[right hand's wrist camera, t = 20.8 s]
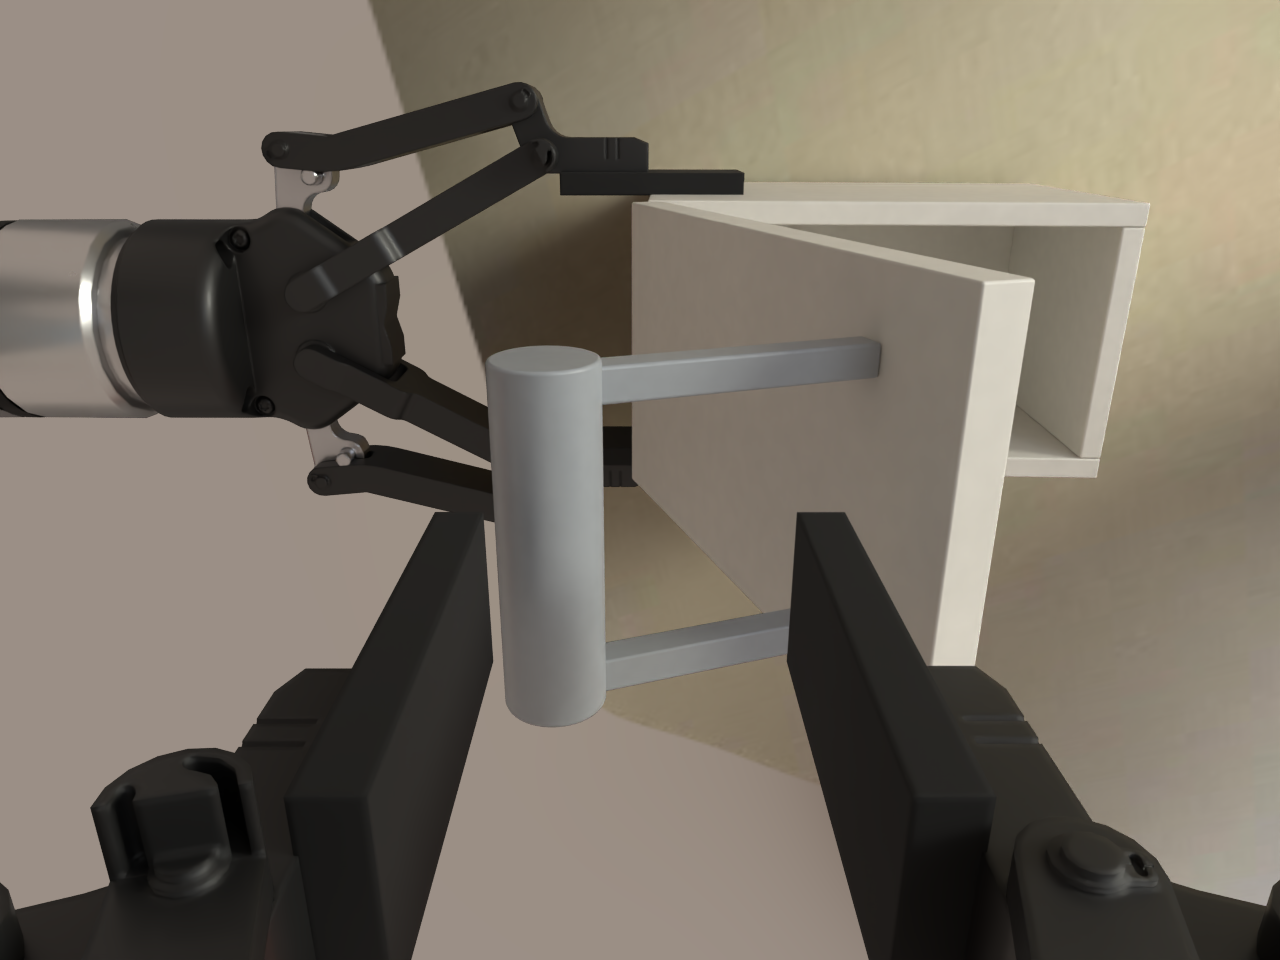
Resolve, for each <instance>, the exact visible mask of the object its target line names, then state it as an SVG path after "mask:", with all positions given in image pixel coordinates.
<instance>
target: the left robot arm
mask: <svg viewBox="0 0 1280 960" xmlns="http://www.w3.org/2000/svg"><path fill="white" fill-rule="evenodd" d="M511 125H512V126H513V129H514V131H515V134H516V137H517V139H518V142H519V144H520V147H519V148H517V149H516V150H514V151H512V152H510V153H509V154H507V155H505V156H504V157H502V158H500V159H499V160H497V161H495V162H494V163H492V164H490V165H488V166H487V167H485V168H483V169H482V170H480V171H478V172H477V173H475V174H473V175H471V176H470V177H468V178H466V179H465V180H463V181H461V182H460V183H458V184H456V185H455V186H453V187H451V188H449V189H448V190H446V191H444V192H443V193H441V194H439V195H438V196H436V197H434V198H432V199H431V200H429V201H427V202H426V203H424V204H422V205H421V206H419V207H417V208H416V209H414V210H412V211H410V212H409V213H407V214H405V215H404V216H402V217H400V218H399V219H397V220H395V221H393V222H392V223H390V224H388V225H387V226H385V227H383V228H381V229H379V230H377V231H376V232H374V233H372V234H370V235H369V236H367V237H365V238H364V239H362V240H360V241H358V240H356V239H354V238H353V237H352V236H350V235H349V234H347V233H346V232H344V231H343V230H342V229H340V228H339V227H337V226H336V225H334V224H333V223H331V222H330V221H328V220H327V219H325V218H324V217H323V216H321V215H320V214H318V213H317V212H315V211H314V210H312V209H311V206H312V201H313V199H314V197H315V196H316V195H317V194H319V193H321V192H326V191H330V190H332V189H334V188H335V187H336V186H337V184H338V182H339V171H341V170H348V169H354V168H360V167H365V166H370V165H373V164H377V163H380V162H384V161H387V160H391V159H394V158H398V157H402V156H405V155H409V154H412V153H416V152H419V151H423V150H426V149H430V148H433V147H437V146H440V145H444V144H447V143H451V142H454V141H458V140H462V139H465V138H469V137H472V136H476V135H479V134H483V133H486V132H490V131H493V130H497V129H500V128H504V127H507V126H511ZM261 149H262V153H263V156H264V158H265V159H266V161H267V162H268V163H269V164H271V165H272V166H274V168H275V190H276V209H274V210H272V211H270V212H269V213H267V214H266V215H264V216H262V217H261V218H258V219H248V220H194V219H193V220H192V219H190V220H187V219H186V220H185V219H178V220H177V219H174V220H173V219H172V220H170V219H158V220H150V221H147V222H145V223H143V224H142V225H140V224H137V223H135V222H132V221H130V220H127V219H94V220H93V219H90V220H89V219H87V220H86V219H85V220H17V221H0V417H102V418H147V417H150V416H153V415H155V414H157V413H160V414H162V415H164V416H167V417H183V418H184V417H185V418H188V417H189V418H197V417H198V418H256V417H277V418H281V419H284V420H287V421H290V422H292V423H294V424H296V425H298V426H300V427H303V428H306V430H307V434H308V438H309V443H310V447H311V451H312V455H313V460H314V464H315V467H314V469H313V470H312V471H311V472H310V473H309V475H308V477H307V483H308V485H309V487H310V489H311V490H312V491H313V492H314V493H316V494H318V495H324V496H328V495H339V494H351V493H362V492H368V493H373V494H377V495H381V496H385V497H389V498H394V499H398V500H402V501H406V502H411V503H415V504H419V505H423V506H428V507H432V508H436V509H440V510H445V511H449V512H483V517H484V520H487V521H491V522H495V517H494V501H493V484H492V471H491V470H487V469H483V468H479V467H474V466H470V465H466V464H462V463H458V462H454V461H449V460H446V459H441V458H437V457H433V456H429V455H425V454H421V453H417V452H412V451H408V450H404V449H400V448H395V447H390V446H381V445H369V444H368V442H367V440H366V439H365V438H364V437H363V436H361V435H359V434H355V433H349V432H347V431H345V430H344V429H342V428H341V426H340V425H339V423H338V421H337V419H339V418H340V417H341V416H343V415H344V414H345V413H347V412H348V411H349V410H351V409H352V408H353V407H355V406H356V405H357V404H359V403H360V404H362V405H364V406H366V407H368V408H370V409H372V410H374V411H376V412H378V413H380V414H382V415H384V416H386V417H389V418H391V419H396V420H397V419H398V420H405V421H407V422H409V423H411V424H413V425H416V426H418V427H420V428H422V429H424V430H426V431H428V432H430V433H432V434H434V435H436V436H438V437H440V438H442V439H444V440H446V441H448V442H450V443H452V444H454V445H456V446H458V447H460V448H462V449H464V450H466V451H468V452H470V453H472V454H474V455H477V456H478V457H480V458H483V459H485V460H487V461H489V462H491V451H490V435H489V418H488V407H487V406H485V405H483V404H481V403H479V402H477V401H475V400H473V399H471V398H469V397H467V396H465V395H463V394H461V393H459V392H457V391H455V390H453V389H451V388H449V387H447V386H445V385H443V384H441V383H439V382H437V381H435V380H433V379H431V378H430V377H428V375H427V374H426V373H425V372H424V371H423V370H421V369H420V368H418V367H416V366H414V365H412V364H410V363H408V362H406V361H404V360H402V359H401V358H402V357H403V356H404V355H405V343H404V334H403V332H402V329H401V326H400V323H399V321H398V318H397V310H398V304H399V299H400V289H399V279H398V276H394V275H393V272H392V270H391V268H390V267H389V265H390V264H392V263H394V262H395V261H397V260H399V259H401V258H402V257H404V256H406V255H407V254H409V253H411V252H413V251H414V250H416V249H418V248H419V247H421V246H423V245H425V244H426V243H428V242H430V241H431V240H433V239H435V238H437V237H438V236H440V235H442V234H444V233H445V232H447V231H449V230H450V229H452V228H454V227H456V226H457V225H459V224H461V223H462V222H464V221H466V220H468V219H469V218H471V217H473V216H475V215H476V214H478V213H480V212H481V211H483V210H485V209H487V208H488V207H490V206H492V205H493V204H495V203H497V202H499V201H500V200H502V199H504V198H506V197H507V196H509V195H511V194H512V193H514V192H516V191H518V190H519V189H521V188H523V187H524V186H526V185H528V184H530V183H531V182H533V181H535V180H536V179H538V178H540V177H542V176H543V175H545V174H547V173H560V195H744V173H743V172H741V171H738V170H648V143H647V142H644V141H642V140H640V139H637V138H635V137H566V136H564V135H561V134H560V133H558V132H557V131H556V130H555V129H554V127H553V126H552V124H551V122H550V119H549V117H548V114H547V111H546V108H545V106H544V103H543V98H542V96H541V94H540V92H539V91H538V90H537V89H536V88H535V87H533V86H531V85H528V84H525V83H522V82H514V83H511V84H507V85H504V86H500V87H497V88H493V89H490V90H486V91H483V92H480V93H476V94H473V95H469V96H466V97H462V98H459V99H455V100H452V101H448V102H445V103H441V104H438V105H434V106H431V107H427V108H424V109H420V110H417V111H413V112H410V113H407V114H403V115H400V116H396V117H393V118H389V119H386V120H382V121H379V122H375V123H372V124H369V125H365V126H361V127H358V128H354V129H351V130H347V131H344V132H340V133H337V134H334V135H332V134H322V133H312V132H301V131H300V132H272V133H270V134H268V135H266V136H265V138H264V140H263V141H262V147H261ZM610 486H611V487H620V486H621V487H636V486H638V484H637V483H636V482H635V481H634V480H633V479H632V426H603V487H610Z"/></svg>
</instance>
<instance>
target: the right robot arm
mask: <svg viewBox="0 0 1280 960" xmlns="http://www.w3.org/2000/svg"><path fill="white" fill-rule="evenodd" d="M492 664H493V651H492V636H491V622H490V606H489V592H488V577H487V562H486V547H485V532H484V517H483V512H435V513H434V515H433V517H432V519H431V521H430V523H429V525H428V526H427V528H426V530H425V532H424V534H423V536H422V538H421V540H420V541H419V543H418V545H417V547H416V549H415V551H414V553H413V555H412V556H411V558H410V560H409V562H408V564H407V566H406V568H405V570H404V572H403V573H402V575H401V577H400V579H399V581H398V583H397V585H396V586H395V588H394V590H393V592H392V594H391V596H390V598H389V600H388V602H387V603H386V605H385V607H384V609H383V611H382V613H381V615H380V617H379V618H378V620H377V622H376V624H375V626H374V628H373V630H372V632H371V633H370V635H369V637H368V639H367V641H366V643H365V645H364V647H363V648H362V650H361V652H360V654H359V656H358V658H357V660H356V662H355V663H354V665H353V667H352V669H304V670H303V671H302V672H300V673H299V674H298V675H296V676H295V677H294V678H292V679H291V680H290V681H288V682H287V683H285V684H284V685H283V686H281V687H280V688H279V689H277V690H276V691H275V692H274V693H273V695H272V696H271V698H270V699H269V701H268V702H267V704H266V706H265V707H264V709H263V710H262V712H261V713H260V715H259V716H258V718H257V724H253V726H252V727H251V729H250V730H249V732H248V733H247V735H246V736H245V738H244V739H243V741H242V747H238V749H237V750H236V752H235V753H233V752H229V751H225V750H221V749H218V748H200V749H185V750H181V751H177V752H173V753H169V754H166V755H161V756H157V757H155V758H153V759H151V760H149V761H147V762H145V763H142V764H140V765H138V766H136V767H134V768H132V769H129V770H128V771H126V772H125V773H124V774H122V775H121V776H120V777H118V778H117V779H116V780H114V781H113V782H112V783H111V784H109V785H108V786H106V787H105V788H104V790H103V791H102V792H101V794H100V795H99V796H98V798H97V799H96V801H95V802H94V803H93V805H92V806H91V812H92V816H93V820H94V823H95V827H96V831H97V834H98V838H99V842H100V845H101V849H102V853H103V856H104V860H105V864H106V868H107V871H108V875H109V879H110V883H109V886H107V887H104V888H101V889H97V890H94V891H91V892H87V893H84V894H80V895H76V896H72V897H68V898H63V899H59V900H55V901H51V902H46V903H42V904H38V905H34V906H29V907H25V908H21V909H17V910H15V909H14V906H13V903H12V900H11V897H10V893H9V890H8V889H7V888H6V887H5V886H3V885H2V884H1V883H0V960H411V958H412V955H413V951H414V947H415V944H416V940H417V936H418V933H419V929H420V926H421V922H422V918H423V915H424V911H425V907H426V904H427V900H428V897H429V893H430V889H431V886H432V882H433V878H434V875H435V871H436V867H437V864H438V860H439V856H440V853H441V849H442V845H443V842H444V838H445V835H446V831H447V827H448V824H449V820H450V816H451V813H452V809H453V806H454V802H455V798H456V795H457V791H458V787H459V784H460V780H461V776H462V773H463V769H464V766H465V762H466V758H467V755H468V751H469V747H470V744H471V740H472V736H473V733H474V729H475V726H476V722H477V718H478V715H479V711H480V707H481V704H482V700H483V696H484V693H485V689H486V686H487V682H488V678H489V675H490V671H491V667H492ZM787 664H788V667H789V671H790V675H791V678H792V682H793V686H794V689H795V693H796V696H797V700H798V704H799V707H800V711H801V715H802V718H803V722H804V726H805V729H806V733H807V736H808V740H809V744H810V747H811V751H812V755H813V758H814V762H815V766H816V769H817V773H818V776H819V780H820V784H821V787H822V791H823V795H824V798H825V802H826V806H827V809H828V813H829V817H830V820H831V824H832V827H833V831H834V835H835V838H836V842H837V846H838V849H839V853H840V856H841V860H842V864H843V867H844V871H845V875H846V878H847V882H848V885H849V889H850V893H851V896H852V900H853V904H854V907H855V911H856V915H857V918H858V922H859V926H860V929H861V933H862V937H863V940H864V944H865V947H866V951H867V955H868V958H869V960H1280V880H1279V881H1278V882H1277V883H1276V884H1275V885H1273V887H1272V890H1271V893H1270V897H1269V900H1268V903H1267V906H1263V905H1258V904H1254V903H1250V902H1246V901H1241V900H1237V899H1233V898H1229V897H1224V896H1220V895H1216V894H1212V893H1207V892H1203V891H1199V890H1195V889H1192V888H1189V887H1185V886H1182V885H1179V884H1176V883H1172V882H1170V879H1169V878H1168V876H1167V875H1166V873H1165V872H1164V870H1163V868H1162V867H1161V865H1160V864H1159V862H1158V861H1157V859H1156V858H1155V857H1154V856H1152V855H1151V854H1150V853H1149V852H1148V851H1147V850H1145V849H1144V848H1143V847H1142V846H1141V845H1139V844H1138V843H1137V842H1136V841H1135V840H1133V839H1131V838H1129V837H1127V836H1126V835H1124V834H1122V833H1120V832H1118V831H1116V830H1114V829H1112V828H1110V827H1108V826H1106V825H1103V824H1099V823H1095V822H1093V821H1092V820H1091V818H1090V817H1089V815H1088V814H1087V812H1086V811H1085V809H1084V808H1083V806H1082V805H1081V803H1080V801H1079V800H1078V798H1077V797H1076V795H1075V794H1074V792H1073V791H1072V789H1071V788H1070V786H1069V785H1068V783H1067V782H1066V780H1065V778H1064V777H1063V775H1062V774H1061V772H1060V771H1059V769H1058V768H1057V766H1056V765H1055V763H1054V762H1053V760H1052V759H1051V757H1050V755H1049V754H1048V752H1047V751H1046V749H1045V748H1044V746H1043V745H1042V744H1039V743H1038V737H1037V736H1036V734H1035V732H1034V731H1033V729H1032V728H1031V726H1030V725H1029V723H1028V722H1027V721H1024V716H1023V714H1022V713H1021V711H1020V709H1019V708H1018V706H1017V705H1016V703H1015V702H1014V700H1013V699H1012V697H1011V696H1010V694H1009V693H1008V691H1007V689H1006V688H1004V687H1003V686H1001V685H1000V684H999V683H997V682H996V681H995V680H993V679H992V678H991V677H989V676H988V675H987V674H985V673H984V672H983V671H981V670H980V669H979V668H977V667H976V666H927V665H926V663H925V662H924V660H923V658H922V656H921V654H920V652H919V650H918V648H917V647H916V645H915V643H914V641H913V639H912V637H911V635H910V633H909V632H908V630H907V628H906V626H905V624H904V622H903V620H902V618H901V616H900V615H899V613H898V611H897V609H896V607H895V605H894V603H893V601H892V600H891V598H890V596H889V594H888V592H887V590H886V588H885V586H884V585H883V583H882V581H881V579H880V577H879V575H878V573H877V571H876V570H875V568H874V566H873V564H872V562H871V560H870V558H869V556H868V555H867V553H866V551H865V549H864V547H863V545H862V543H861V541H860V539H859V538H858V536H857V534H856V532H855V530H854V528H853V526H852V524H851V523H850V521H849V519H848V517H847V515H846V513H845V512H797V517H796V532H795V547H794V562H793V577H792V592H791V606H790V621H789V636H788V651H787Z"/></svg>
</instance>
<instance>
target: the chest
mask: <svg viewBox="0 0 1280 960" xmlns="http://www.w3.org/2000/svg"><path fill="white" fill-rule="evenodd" d="M659 201H661V202H666V203H671V204H676V205H681V206H686V207H690V208H695V209H700V210H705V211H710V212H715V213H720V214H724V215H729V216H734V217H739V218H744V219H749V220H753V221H758V222H763V223H768V224H773V225H778V226H782V227H787V228H792V229H797V230H802V231H807V232H811V233H816V234H821V235H826V236H831V237H836V238H841V239H845V240H850V241H855V242H860V243H865V244H870V245H874V246H879V247H884V248H889V249H894V250H899V251H903V252H908V253H913V254H918V255H923V256H928V257H932V258H937V259H942V260H947V261H952V262H957V263H962V264H966V265H971V266H976V267H981V268H986V269H991V270H995V271H1000V272H1005V273H1010V274H1015V275H1020V276H1024V277H1029V278H1032V279H1034V280H1035V284H1034V291H1033V297H1032V303H1031V310H1030V316H1029V323H1028V329H1027V335H1026V342H1025V348H1024V354H1023V361H1022V367H1021V374H1020V380H1019V386H1018V393H1017V399H1016V405H1015V412H1014V418H1013V424H1012V431H1011V437H1010V444H1009V450H1008V456H1007V463H1006V469H1005V475H1004V477H1052V478H1096V477H1097V472H1098V467H1099V462H1100V459H1099V458H1100V456H1101V451H1102V446H1103V441H1104V436H1105V431H1106V426H1107V421H1108V416H1109V410H1110V405H1111V400H1112V395H1113V390H1114V385H1115V380H1116V375H1117V370H1118V365H1119V359H1120V354H1121V349H1122V344H1123V339H1124V334H1125V329H1126V324H1127V319H1128V314H1129V308H1130V303H1131V298H1132V293H1133V288H1134V283H1135V278H1136V273H1137V268H1138V263H1139V258H1140V252H1141V247H1142V242H1143V237H1144V232H1145V228H1143V227H1145V226H1146V223H1147V218H1148V213H1149V208H1150V203H1146V202H1140V201H1134V200H1128V199H1122V198H1116V197H1110V196H1104V195H1098V194H1092V193H1086V192H1080V191H1074V190H1068V189H1062V188H1056V187H1050V186H1044V185H1038V184H1032V183H866V182H744V195H650V197H649V200H648V202H659Z"/></svg>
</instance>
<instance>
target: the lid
mask: <svg viewBox="0 0 1280 960" xmlns="http://www.w3.org/2000/svg"><path fill="white" fill-rule="evenodd" d="M1034 284H1035V280H1034V279H1032V278H1029V277H1024V276H1020V275H1015V274H1010V273H1005V272H1000V271H995V270H991V269H986V268H981V267H976V266H971V265H966V264H962V263H957V262H952V261H947V260H942V259H937V258H932V257H928V256H923V255H918V254H913V253H908V252H903V251H899V250H894V249H889V248H884V247H879V246H874V245H870V244H865V243H860V242H855V241H850V240H845V239H841V238H836V237H831V236H826V235H821V234H816V233H811V232H807V231H802V230H797V229H792V228H787V227H782V226H778V225H773V224H768V223H763V222H758V221H753V220H749V219H744V218H739V217H734V216H729V215H724V214H720V213H715V212H710V211H705V210H700V209H695V208H690V207H686V206H681V205H676V204H671V203H666V202H661V201H659V202H633V203H632V355H627V356H615V357H603V358H600V356H599V355H598V354H596V353H594V352H592V351H589V350H585V349H581V348H576V347H568V346H528V347H519V348H513V349H508V350H504V351H501V352H498V353H495V354H493V355H491V356H489V357H488V358H487V360H486V363H485V369H486V385H487V401H488V418H489V435H490V451H491V468H492V484H493V501H494V517H495V534H496V550H497V567H498V583H499V600H500V616H501V633H502V649H503V666H504V682H505V699H506V704H507V707H508V709H509V710H510V712H511V713H512V714H513V715H514V716H515V717H517V718H518V719H520V720H521V721H523V722H526V723H528V724H531V725H535V726H541V727H563V726H569V725H573V724H577V723H579V722H582V721H584V720H586V719H588V718H590V717H592V716H593V715H594V714H596V713H597V712H598V711H599V710H600V708H601V707H602V705H603V703H604V701H605V699H606V691H609V690H614V689H618V688H623V687H628V686H633V685H638V684H643V683H648V682H653V681H658V680H663V679H668V678H672V677H677V676H682V675H687V674H692V673H697V672H702V671H707V670H712V669H717V668H722V667H726V666H731V665H736V664H741V663H746V662H751V661H756V660H761V659H766V658H771V657H776V656H781V655H785V654H787V651H788V636H789V621H790V606H791V592H792V577H793V562H794V547H795V532H796V517H797V512H845V513H846V515H847V517H848V519H849V521H850V523H851V524H852V526H853V528H854V530H855V532H856V534H857V536H858V538H859V539H860V541H861V543H862V545H863V547H864V549H865V551H866V553H867V555H868V556H869V558H870V560H871V562H872V564H873V566H874V568H875V570H876V571H877V573H878V575H879V577H880V579H881V581H882V583H883V585H884V586H885V588H886V590H887V592H888V594H889V596H890V598H891V600H892V601H893V603H894V605H895V607H896V609H897V611H898V613H899V615H900V616H901V618H902V620H903V622H904V624H905V626H906V628H907V630H908V632H909V633H910V635H911V637H912V639H913V641H914V643H915V645H916V647H917V648H918V650H919V652H920V654H921V656H922V658H923V660H924V662H925V663H926V665H927V666H975V660H976V654H977V647H978V641H979V635H980V628H981V622H982V615H983V609H984V603H985V596H986V590H987V584H988V577H989V571H990V565H991V558H992V552H993V545H994V539H995V533H996V526H997V520H998V514H999V507H1000V501H1001V495H1002V488H1003V482H1004V475H1005V469H1006V463H1007V456H1008V450H1009V444H1010V437H1011V431H1012V424H1013V418H1014V412H1015V405H1016V399H1017V393H1018V386H1019V380H1020V374H1021V367H1022V361H1023V354H1024V348H1025V342H1026V335H1027V329H1028V323H1029V316H1030V310H1031V303H1032V297H1033V291H1034ZM628 402H632V479H633V480H634V481H635V482H636V483H637V484H638V485H639V486H640V487H641V488H642V489H643V490H644V491H645V492H646V493H647V494H648V495H649V496H650V497H651V498H652V499H653V500H654V502H655V503H656V504H657V505H658V506H659V507H660V508H661V509H662V510H663V511H664V512H665V513H666V514H667V515H668V516H669V517H670V518H671V519H672V520H673V521H674V522H675V523H676V524H677V525H678V526H679V527H680V528H681V529H682V530H683V531H684V532H685V533H686V534H687V535H688V536H689V537H690V538H691V539H692V541H693V542H694V543H695V544H696V545H697V546H698V547H699V548H700V549H701V550H702V551H703V552H704V553H705V554H706V555H707V556H708V557H709V558H710V559H711V560H712V561H713V562H714V563H715V564H716V565H717V566H718V567H719V568H720V569H721V570H722V571H723V572H724V573H725V574H726V575H727V576H728V577H729V578H730V580H731V581H732V582H733V583H734V584H735V585H736V586H737V587H738V588H739V589H740V590H741V591H742V592H743V593H744V594H745V595H746V596H747V597H748V598H749V599H750V600H751V601H752V602H753V603H754V604H755V605H756V606H757V607H758V608H759V609H760V610H761V611H762V612H763V613H762V614H757V615H751V616H746V617H741V618H735V619H730V620H724V621H719V622H714V623H708V624H703V625H698V626H692V627H687V628H681V629H676V630H671V631H665V632H660V633H655V634H649V635H644V636H638V637H633V638H628V639H622V640H617V641H612V642H605V567H604V492H603V416H602V405H608V404H618V403H628Z"/></svg>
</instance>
